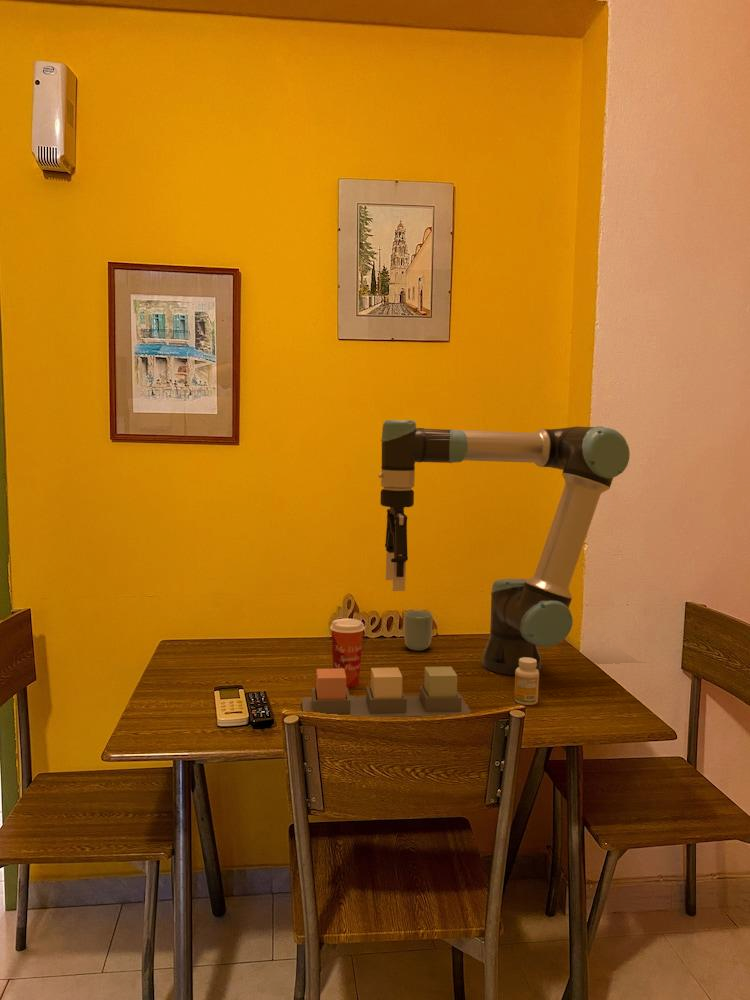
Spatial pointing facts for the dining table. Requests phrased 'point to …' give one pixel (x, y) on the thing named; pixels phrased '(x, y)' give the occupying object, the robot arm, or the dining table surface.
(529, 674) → the supplement bottle
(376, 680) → the key cream
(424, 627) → the cup
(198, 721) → the dining table surface
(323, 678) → the key terracotta
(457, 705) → the grey socket tray
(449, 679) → the key sage
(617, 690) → the dining table surface
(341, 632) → the coffee cup
